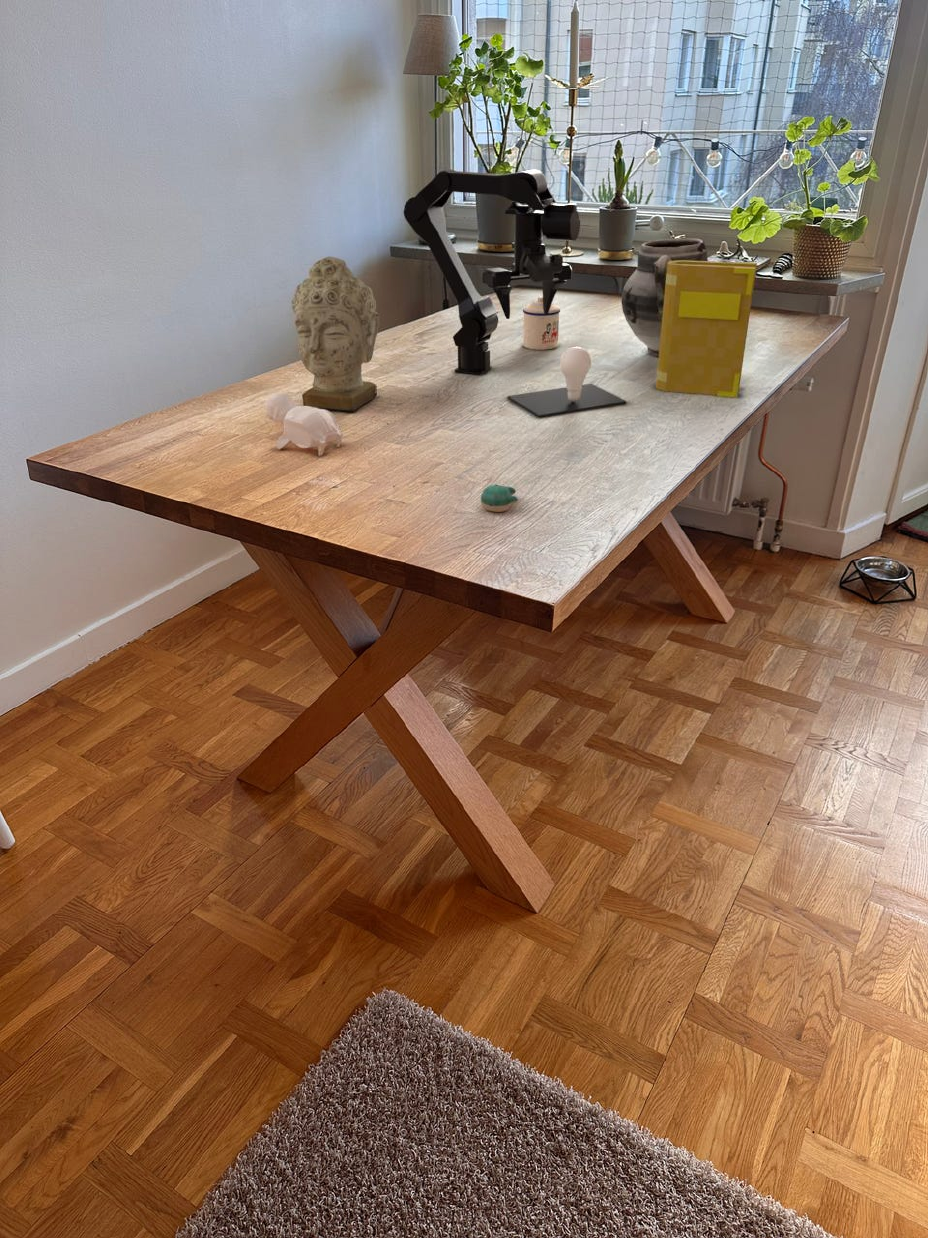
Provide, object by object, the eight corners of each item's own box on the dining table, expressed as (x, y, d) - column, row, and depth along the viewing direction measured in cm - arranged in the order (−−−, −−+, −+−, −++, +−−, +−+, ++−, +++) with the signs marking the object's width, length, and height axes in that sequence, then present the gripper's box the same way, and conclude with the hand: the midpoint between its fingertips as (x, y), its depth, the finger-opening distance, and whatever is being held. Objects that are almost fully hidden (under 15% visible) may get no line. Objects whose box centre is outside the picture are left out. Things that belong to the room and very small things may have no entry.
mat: (507, 398, 186) (507, 395, 185) (590, 385, 192) (591, 383, 192) (538, 417, 175) (538, 415, 174) (626, 403, 181) (626, 401, 181)
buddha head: (282, 411, 181) (264, 263, 166) (325, 385, 196) (312, 248, 181) (358, 419, 176) (346, 267, 161) (396, 392, 191) (388, 251, 176)
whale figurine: (472, 510, 137) (472, 487, 135) (492, 493, 143) (492, 471, 141) (507, 517, 135) (508, 493, 133) (526, 499, 140) (526, 476, 138)
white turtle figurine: (341, 458, 166) (280, 417, 169) (351, 419, 160) (288, 377, 164) (311, 472, 160) (249, 430, 163) (320, 433, 154) (256, 389, 158)
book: (739, 388, 189) (757, 262, 176) (736, 397, 184) (755, 268, 171) (658, 381, 194) (670, 259, 181) (653, 390, 188) (665, 264, 176)
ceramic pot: (701, 372, 200) (715, 252, 187) (602, 363, 208) (609, 247, 195) (725, 342, 222) (739, 233, 209) (635, 335, 230) (643, 230, 217)
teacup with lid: (546, 352, 217) (548, 302, 211) (515, 347, 222) (515, 298, 216) (571, 341, 225) (573, 293, 219) (540, 337, 230) (542, 289, 224)
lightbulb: (580, 408, 177) (583, 352, 172) (553, 403, 180) (555, 348, 175) (593, 400, 182) (597, 345, 176) (567, 396, 185) (569, 341, 179)
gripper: (504, 247, 175) (504, 328, 183) (587, 239, 181) (583, 319, 189) (481, 239, 184) (481, 318, 192) (560, 233, 190) (558, 309, 198)
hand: (526, 316), depth 193 cm, fingers open, 9 cm apart
